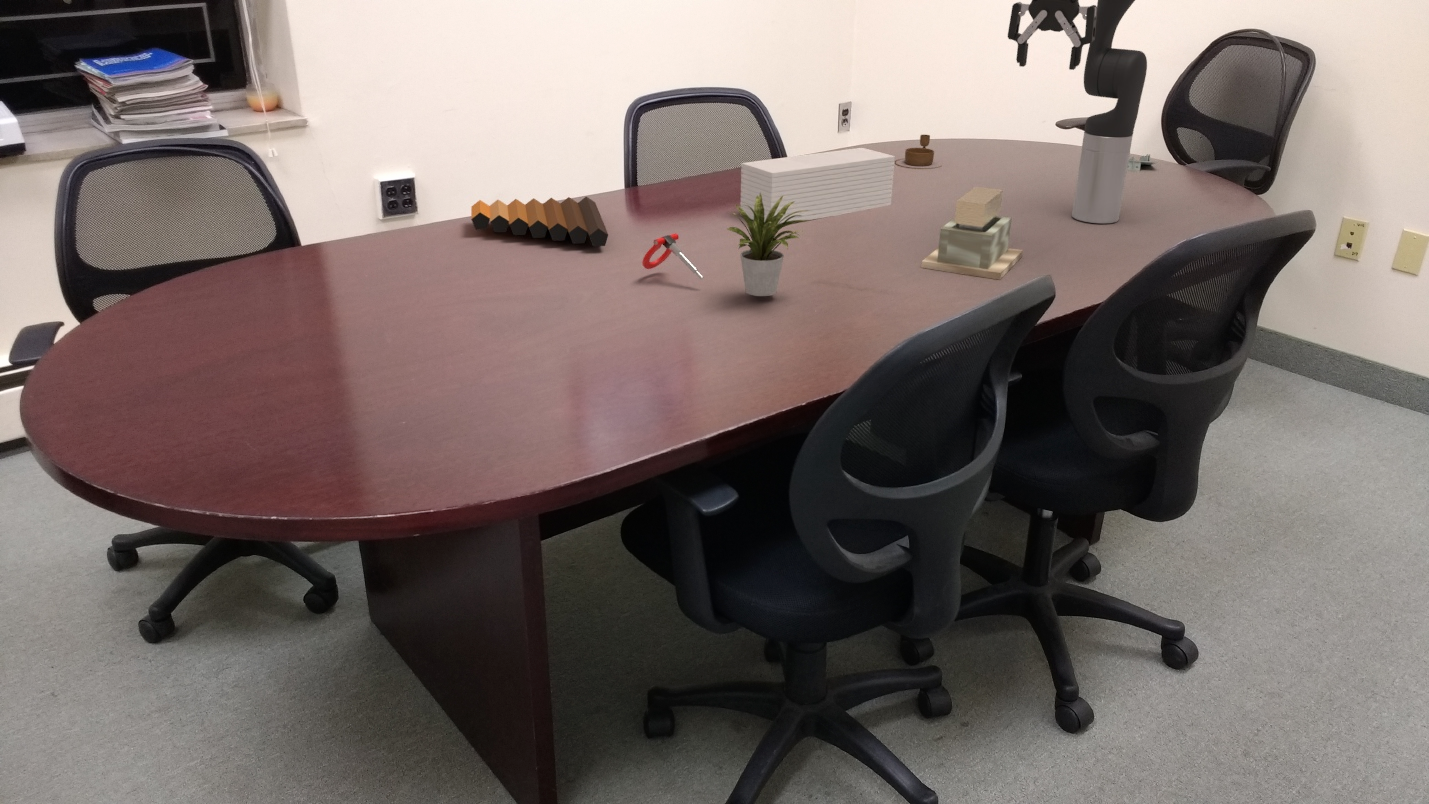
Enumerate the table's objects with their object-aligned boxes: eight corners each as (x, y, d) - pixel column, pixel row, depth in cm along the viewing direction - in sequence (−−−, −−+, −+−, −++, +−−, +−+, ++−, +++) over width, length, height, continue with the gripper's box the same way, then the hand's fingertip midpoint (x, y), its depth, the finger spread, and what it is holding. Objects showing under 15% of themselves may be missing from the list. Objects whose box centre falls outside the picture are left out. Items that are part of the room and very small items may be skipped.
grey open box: (947, 245, 208) (951, 208, 205) (1021, 256, 202) (1027, 218, 199) (921, 267, 195) (924, 227, 192) (999, 279, 189) (1004, 239, 186)
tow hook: (661, 260, 195) (678, 230, 190) (698, 301, 192) (716, 271, 187) (635, 269, 190) (651, 238, 185) (673, 310, 187) (690, 280, 182)
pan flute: (608, 245, 205) (595, 212, 227) (608, 228, 203) (594, 196, 226) (471, 251, 200) (472, 216, 222) (470, 233, 199) (470, 200, 221)
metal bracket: (1168, 154, 260) (1102, 151, 263) (1165, 179, 261) (1099, 175, 263) (1153, 159, 274) (1091, 156, 277) (1151, 183, 275) (1089, 180, 277)
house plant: (775, 313, 172) (779, 211, 165) (701, 297, 178) (702, 198, 171) (817, 289, 183) (822, 192, 176) (745, 275, 189) (748, 181, 183)
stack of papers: (858, 196, 244) (862, 147, 240) (891, 206, 236) (895, 156, 231) (740, 215, 228) (741, 163, 223) (770, 226, 220) (772, 172, 215)
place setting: (874, 167, 273) (875, 143, 271) (919, 156, 286) (921, 133, 284) (933, 179, 262) (936, 154, 260) (978, 167, 275) (981, 143, 273)
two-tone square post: (968, 245, 204) (975, 186, 199) (995, 249, 202) (1002, 189, 197) (950, 261, 194) (956, 200, 190) (978, 266, 192) (985, 204, 188)
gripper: (1107, -33, 184) (1093, 67, 191) (1022, -36, 190) (1011, 62, 197) (1098, -30, 178) (1084, 73, 185) (1010, -33, 184) (1000, 67, 191)
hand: (1047, 67), depth 191 cm, fingers open, 8 cm apart
